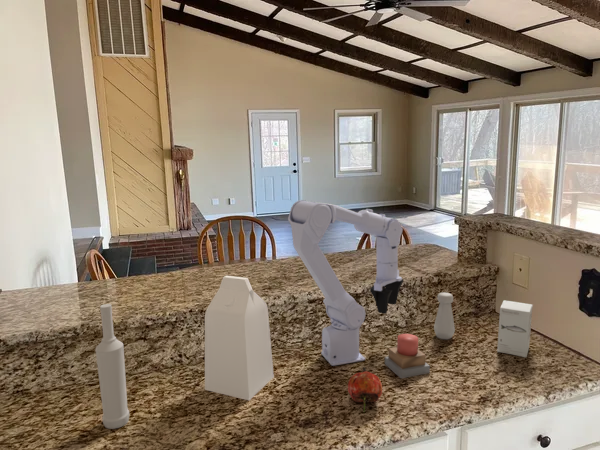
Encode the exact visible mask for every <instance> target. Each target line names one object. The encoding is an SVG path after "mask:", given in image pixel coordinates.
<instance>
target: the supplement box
mask: <svg viewBox="0 0 600 450" xmlns="http://www.w3.org/2000/svg"><path fill="white" fill-rule="evenodd" d="M533 306H534V304H531V303H527V302H526V303H524V302H518V301H512V300H505V299H504V300H503V301H502V303H501V305H500V308H499V320H498V322H499V323H498V335H497V336H498V337H497V347H496V348H497V350H496V351H497V353H504V354H509V355H514V356H518V357H523V358H527V357H528V354H529V349H530V339H531V329H532V328H531V327H532V317H533V316H532V314H533Z"/></svg>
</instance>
